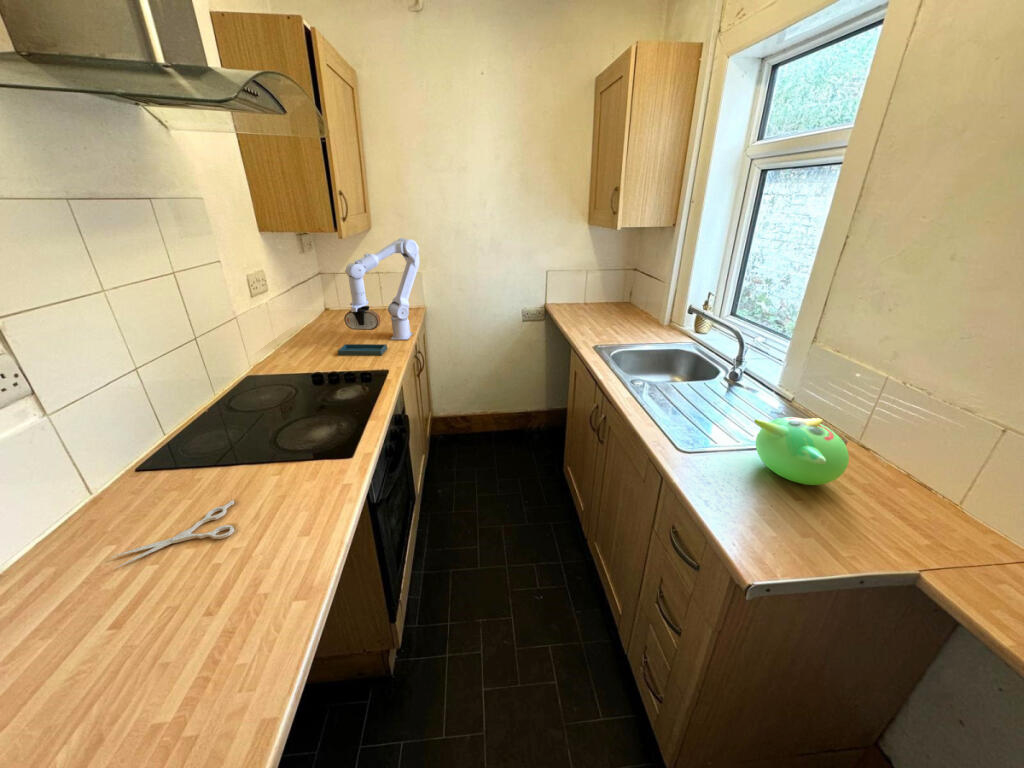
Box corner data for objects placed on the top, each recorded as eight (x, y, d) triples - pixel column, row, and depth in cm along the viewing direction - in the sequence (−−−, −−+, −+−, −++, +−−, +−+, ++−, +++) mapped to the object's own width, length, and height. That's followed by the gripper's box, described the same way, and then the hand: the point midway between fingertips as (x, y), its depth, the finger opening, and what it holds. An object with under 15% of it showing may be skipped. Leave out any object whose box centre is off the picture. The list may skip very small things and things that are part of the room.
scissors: (243, 527, 82) (107, 582, 70) (244, 530, 82) (109, 585, 71) (233, 499, 89) (109, 545, 78) (234, 502, 90) (110, 548, 78)
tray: (346, 348, 180) (345, 344, 179) (387, 348, 179) (386, 344, 178) (338, 355, 172) (337, 350, 171) (381, 355, 172) (380, 351, 171)
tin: (381, 328, 182) (379, 309, 179) (379, 330, 179) (376, 311, 176) (347, 328, 183) (345, 309, 180) (344, 330, 180) (342, 310, 177)
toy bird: (851, 484, 95) (874, 429, 89) (811, 510, 88) (833, 451, 82) (773, 447, 109) (788, 397, 103) (733, 465, 102) (747, 413, 96)
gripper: (355, 289, 181) (359, 319, 187) (341, 296, 168) (347, 328, 174) (371, 289, 181) (375, 319, 187) (358, 296, 168) (363, 329, 174)
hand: (362, 324), depth 180 cm, fingers closed on tin, 2 cm apart
